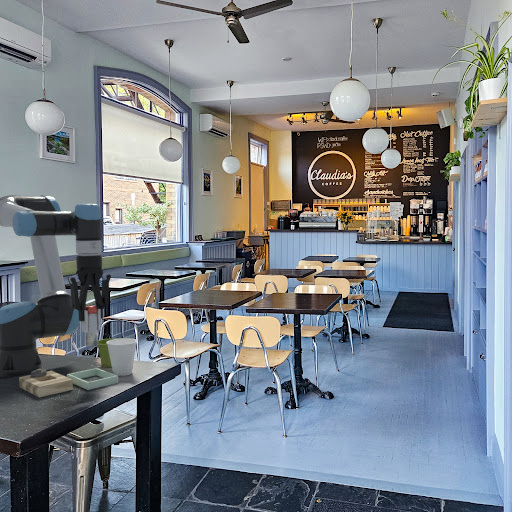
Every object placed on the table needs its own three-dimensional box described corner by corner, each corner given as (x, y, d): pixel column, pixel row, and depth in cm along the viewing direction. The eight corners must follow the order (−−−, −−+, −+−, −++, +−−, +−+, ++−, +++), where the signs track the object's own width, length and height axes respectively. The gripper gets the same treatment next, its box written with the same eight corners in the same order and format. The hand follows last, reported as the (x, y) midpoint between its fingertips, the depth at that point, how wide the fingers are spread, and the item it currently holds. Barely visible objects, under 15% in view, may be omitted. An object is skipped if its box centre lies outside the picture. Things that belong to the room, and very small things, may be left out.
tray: (67, 384, 169) (66, 374, 169) (97, 377, 177) (96, 368, 176) (87, 393, 160) (87, 382, 160) (118, 385, 167) (118, 375, 167)
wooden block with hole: (19, 390, 163) (18, 371, 163) (51, 383, 170) (51, 365, 170) (39, 400, 153) (38, 380, 153) (72, 392, 161) (72, 373, 160)
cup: (130, 378, 174) (129, 345, 174) (101, 377, 176) (100, 344, 176) (142, 370, 184) (141, 338, 183) (115, 369, 186) (114, 337, 185)
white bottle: (83, 345, 167) (82, 306, 167) (94, 343, 170) (93, 305, 169) (89, 347, 165) (88, 307, 164) (100, 345, 167) (99, 306, 167)
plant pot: (115, 369, 186) (114, 344, 185) (91, 368, 188) (90, 343, 188) (129, 363, 195) (128, 339, 194) (105, 361, 197) (105, 337, 197)
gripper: (68, 256, 157) (71, 336, 159) (119, 253, 169) (121, 328, 170) (57, 255, 163) (59, 333, 164) (107, 253, 174) (109, 325, 176)
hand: (91, 330), depth 167 cm, fingers closed on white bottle, 4 cm apart
